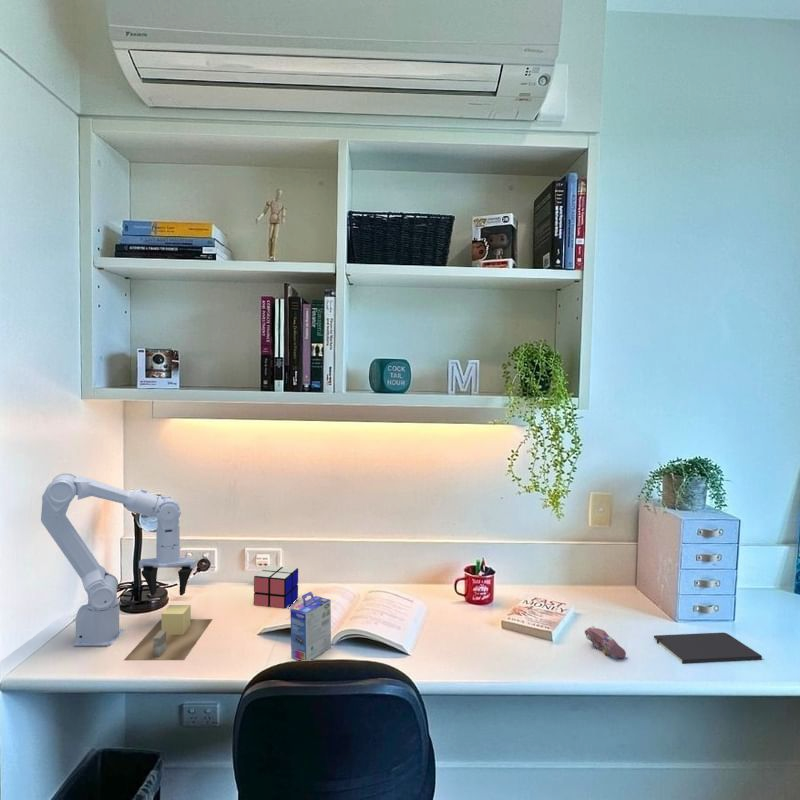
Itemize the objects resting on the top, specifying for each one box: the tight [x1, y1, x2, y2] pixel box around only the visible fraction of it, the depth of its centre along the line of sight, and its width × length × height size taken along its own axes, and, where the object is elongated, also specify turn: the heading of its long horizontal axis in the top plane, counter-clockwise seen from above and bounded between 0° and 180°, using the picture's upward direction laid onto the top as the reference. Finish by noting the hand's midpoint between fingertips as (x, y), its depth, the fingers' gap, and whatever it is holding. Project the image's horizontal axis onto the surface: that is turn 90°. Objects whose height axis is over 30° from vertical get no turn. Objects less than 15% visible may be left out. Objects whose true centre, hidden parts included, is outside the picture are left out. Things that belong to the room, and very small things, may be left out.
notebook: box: [653, 632, 763, 665], centre depth 141 cm, size 13×2×21 cm
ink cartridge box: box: [289, 591, 332, 661], centre depth 135 cm, size 10×6×14 cm, turn 149°
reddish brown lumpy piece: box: [584, 625, 627, 659], centre depth 138 cm, size 10×5×7 cm, turn 22°
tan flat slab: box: [123, 618, 213, 661], centre depth 139 cm, size 14×22×6 cm, turn 2°
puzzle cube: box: [253, 565, 299, 610], centre depth 164 cm, size 10×10×10 cm
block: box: [161, 604, 192, 635], centre depth 144 cm, size 6×6×6 cm
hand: (167, 594), depth 147 cm, fingers open, 7 cm apart
